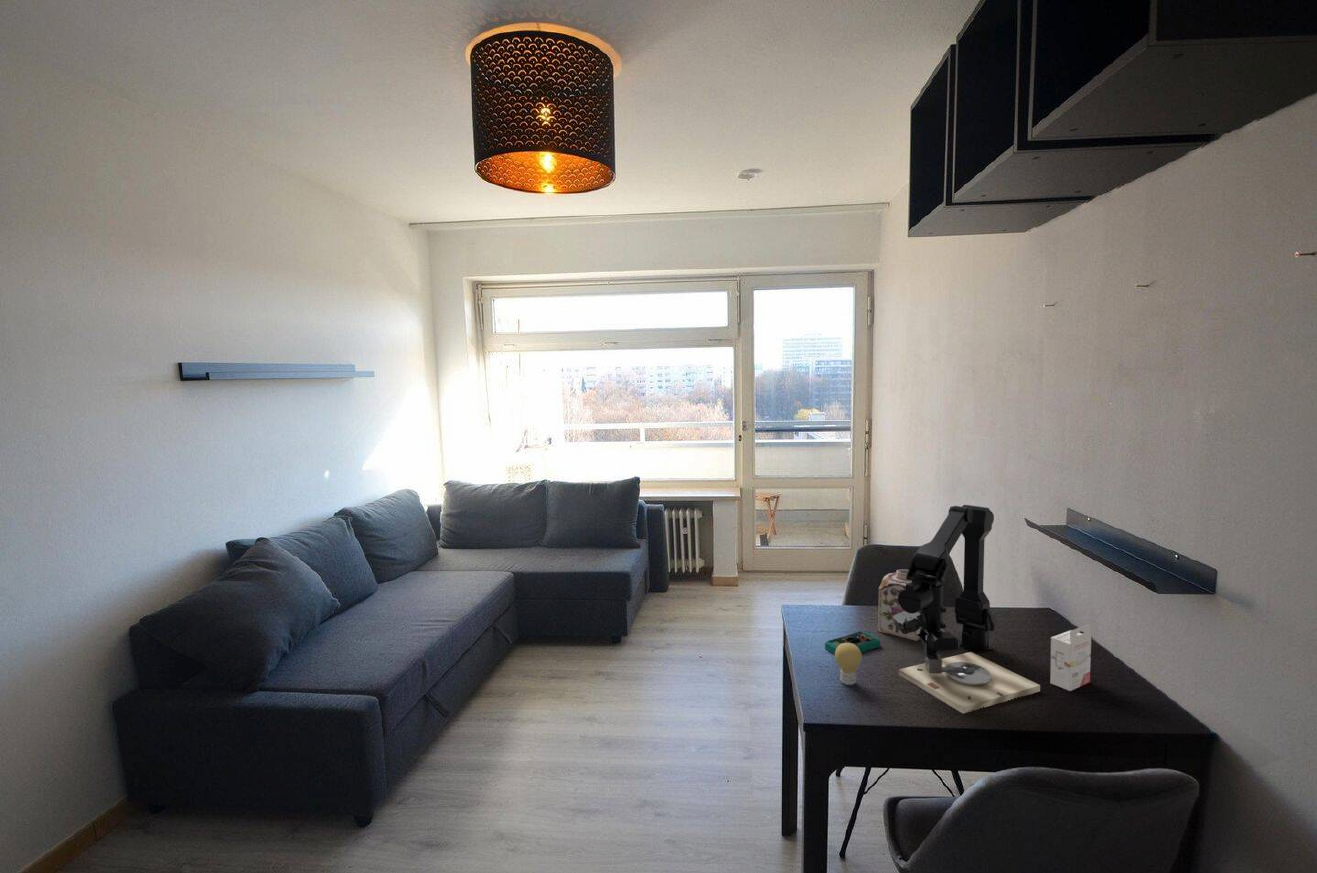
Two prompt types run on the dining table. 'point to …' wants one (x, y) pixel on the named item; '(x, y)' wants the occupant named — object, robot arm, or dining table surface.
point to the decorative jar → (892, 603)
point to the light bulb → (848, 661)
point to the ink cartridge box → (1071, 658)
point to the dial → (958, 671)
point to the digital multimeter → (854, 641)
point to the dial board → (970, 697)
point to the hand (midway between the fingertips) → (929, 660)
